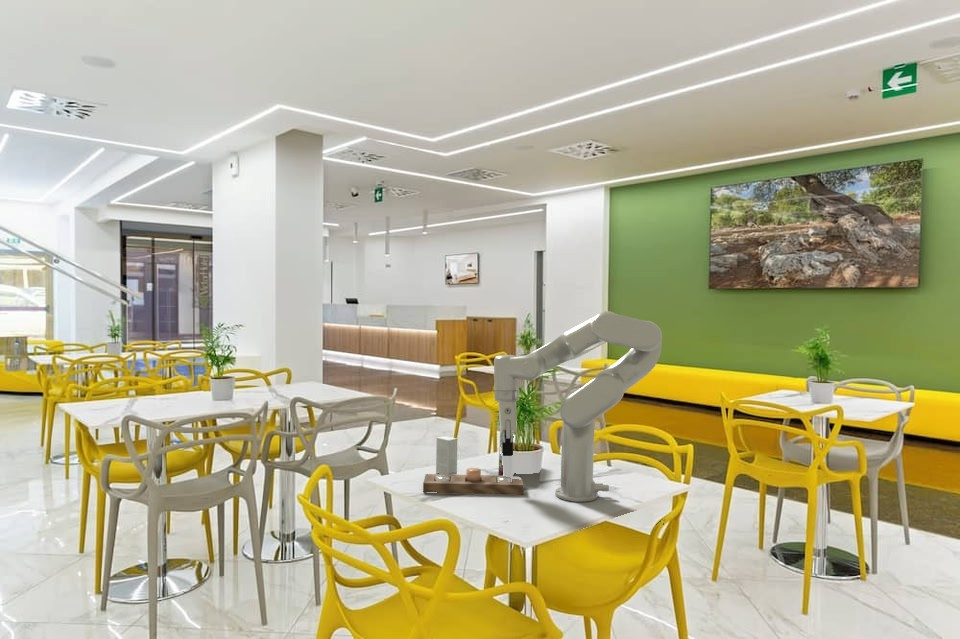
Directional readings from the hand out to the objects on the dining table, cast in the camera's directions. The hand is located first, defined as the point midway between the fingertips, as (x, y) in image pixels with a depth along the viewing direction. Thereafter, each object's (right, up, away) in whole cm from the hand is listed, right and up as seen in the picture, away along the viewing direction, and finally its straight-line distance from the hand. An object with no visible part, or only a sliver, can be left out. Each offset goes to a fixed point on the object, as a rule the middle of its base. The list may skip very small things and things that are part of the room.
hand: (507, 454), depth 198 cm
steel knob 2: (-1, -11, +1) cm, 11 cm away
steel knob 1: (-20, -10, 0) cm, 23 cm away
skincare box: (-20, -10, +17) cm, 28 cm away
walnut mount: (-11, -11, 0) cm, 15 cm away
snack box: (+2, -10, +26) cm, 28 cm away
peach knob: (-11, -8, 0) cm, 13 cm away
